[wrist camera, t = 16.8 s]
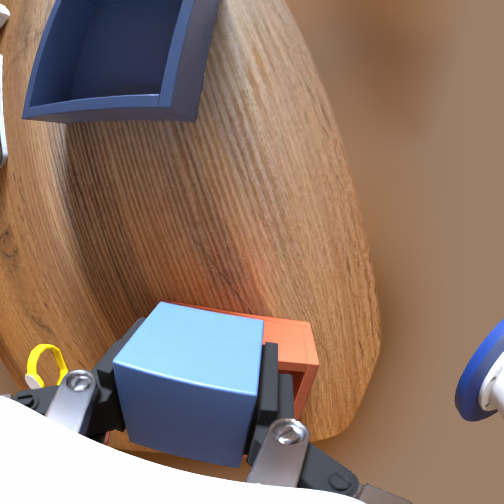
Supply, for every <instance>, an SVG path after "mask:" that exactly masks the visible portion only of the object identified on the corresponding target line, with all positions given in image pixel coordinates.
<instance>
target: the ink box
mask: <svg viewBox="0 0 504 504" xmlns="http://www.w3.org/2000/svg"><path fill="white" fill-rule="evenodd" d="M9 16H10V13H9V11H8V10H7V9H6V7H5V6H3V5H1V4H0V29H1V27H2V26H3V24H4V23H5V21H6V20H7V19H8V18H9Z"/></svg>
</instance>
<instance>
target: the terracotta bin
mask: <svg viewBox="0 0 504 504" xmlns="http://www.w3.org/2000/svg"><path fill="white" fill-rule="evenodd" d="M160 302H165V303H170V304H175V305H179V306H184V307H189V308H195V309H200V310H205V311H210V312H216V313H221V314H227V315H233V316H239V317H245V318H251V319H257V320H263V321H264V331H263V342H262V344H264V345H265V342H273V343H278V373H281V374H289V375H292V378H293V398H294V419H296V420H299V418H300V416H301V413H302V411H303V408H304V405H305V403H306V400H307V397H308V395H309V392H310V389H311V387H312V384H313V381H314V378H315V375H316V372H317V370H318V367H319V362H318V357H317V353H316V348H315V344H314V340H313V335H312V331H311V326H310V322H303V321H295V320H287V319H279V318H272V317H265V316H258V315H251V314H244V313H238V312H231V311H225V310H219V309H213V308H207V307H202V306H196V305H191V304H185V303H180V302H175V301H169V300H164V299H161V300H160ZM160 302H159V303H160ZM156 307H157V306H156ZM156 307H155V308H156ZM243 458H247V455H243Z"/></svg>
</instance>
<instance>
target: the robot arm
mask: <svg viewBox="0 0 504 504" xmlns="http://www.w3.org/2000/svg"><path fill="white" fill-rule="evenodd" d="M146 319H147V318H143V317H140V318H139V319H138V320H137V321H136V322H135V323H134V324H133V326H132V327H131V328H130V329H129V330H128V331H127V333H126V334H125V335H124V336H123V337H122V339H121V340H117V341H116V342H115V343H114V344H113V345H112V346H111V348H110V349H109V350H108V351H107V352H106V354H105V355H104V356H103V357H102V358H101V359H100V361H99V362H98V363H97V364H96V365H95V367H94V368H93V369H92V370H91V371H90V372H89V371H87V370H83V369H76V370H72V371H69V372H68V373H67V374H65V376H64V377H63V379H62V381H61V383H60V385H56V386H50V387H44V388H37V389H30V390H24V391H21V392H19V393H17V394H16V395H15V396H14V397H13V396H12V395H11V394H0V504H412V502H410V501H409V500H407V499H404V498H402V497H399V496H396V495H394V494H391V493H389V492H386V491H384V490H382V489H379V488H377V487H375V486H372V485H370V484H368V483H367V484H366V485H363V484H361V483H359V482H358V479H357V477H356V475H355V474H354V473H352V472H351V471H350V470H348V469H347V468H345V467H344V466H342V465H341V464H339V463H338V462H337V461H335V460H334V459H332V458H331V457H329V456H328V455H327V454H325V453H324V452H323V451H321V450H320V449H318V448H317V447H316V446H314V445H313V444H312V443H310V442H309V438H310V432H309V430H308V428H307V426H306V425H305V424H304V423H302V422H301V421H299V420H296V419H294V398H293V378H292V375H289V374H281V373H278V343H273V342H265V345H264V344H262V353H261V364H260V375H259V385H258V395H257V400H256V404H255V408H254V413H253V417H252V421H251V425H250V430H249V434H248V438H247V442H246V446H245V450H244V454H243V455H247V461H246V462H248V464H249V465H250V466H251V467H252V469H251V471H250V473H249V475H248V478H247V480H246V482H245V483H243V482H237V481H230V480H224V479H218V478H213V477H208V476H203V475H198V474H194V473H190V472H185V471H181V470H177V469H174V468H170V467H166V466H163V465H159V464H156V463H153V462H149V461H146V460H143V459H140V458H137V457H134V456H131V455H129V454H126V453H123V452H120V451H117V450H115V449H113V448H110V447H108V446H107V445H108V441H109V436H110V431H112V430H114V429H116V430H118V431H121V432H123V431H124V429H125V428H126V426H125V422H124V418H123V413H122V409H121V404H120V400H119V395H118V390H117V385H116V380H115V374H114V368H113V360H114V358H115V357H116V356H117V355H118V353H119V352H120V351H121V350H122V348H123V347H124V346H125V345H126V343H127V342H128V341H129V340H130V338H131V337H132V336H133V335H134V333H135V332H136V331H137V330H138V328H139V327H140V326H141V325H142V324H143V322H144V321H145V320H146ZM478 403H479V405H480V406H481V408H482V409H483V410H485V411H491V410H495V409H497V410H498V412H499V413H500V414H501V416H502V417H503V419H504V352H503V353H502V354H501V355H500V357H499V358H498V359H497V361H496V362H495V363H494V365H493V366H492V368H491V369H490V371H489V372H488V374H487V376H486V377H485V379H484V381H483V383H482V385H481V388H480V391H479V395H478Z"/></svg>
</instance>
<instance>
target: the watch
mask: <svg viewBox="0 0 504 504" xmlns="http://www.w3.org/2000/svg"><path fill="white" fill-rule="evenodd" d="M45 349H49V350H51V351H53V354H54V356H55V359H56V361H57V364H58V366H59V368H60V375H59V380H58V383H57V385H60V383H61V381H62V379H63V377H64V376H65V374H67V373H68V369H67V366H66V364H65V362H64V359H63V357H62V354H61V351H60V349H58V348H57V347H55V346H53V345H39V346H37V347H36V348H35V349H34V350H33V351H32V352H31V354H30V357H29V360H28V373H27V374H26V376H25V380H26V382H27V384H28V386H29V387H30V388H31V389H37V388H44V387H45V384H44V383H43V381H42V380H41V378H40V377H39V376H38V375H37V369H36V364H37V361H38V359H39V356H40V354H41V353H42V352H43V351H44V350H45Z"/></svg>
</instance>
